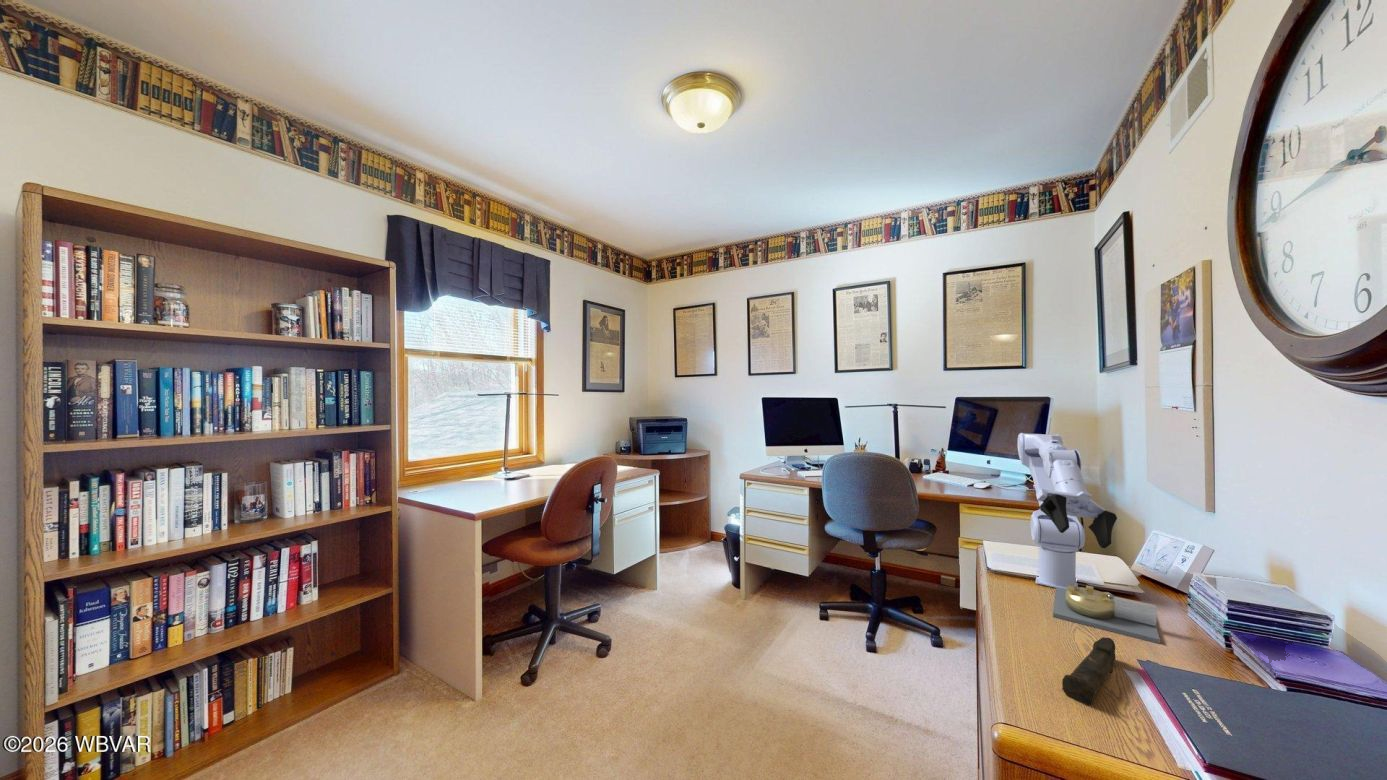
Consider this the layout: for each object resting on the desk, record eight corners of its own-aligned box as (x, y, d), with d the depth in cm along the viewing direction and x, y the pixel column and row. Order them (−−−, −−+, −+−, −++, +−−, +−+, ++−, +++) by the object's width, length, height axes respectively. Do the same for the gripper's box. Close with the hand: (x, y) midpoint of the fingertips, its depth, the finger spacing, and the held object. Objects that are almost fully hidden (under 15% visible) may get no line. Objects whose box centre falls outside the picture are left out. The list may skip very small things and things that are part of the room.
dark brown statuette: (1093, 711, 70) (1093, 681, 70) (1061, 695, 74) (1061, 667, 74) (1131, 668, 81) (1132, 642, 81) (1102, 656, 84) (1102, 631, 84)
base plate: (1055, 590, 110) (1055, 586, 110) (1149, 611, 100) (1149, 607, 100) (1053, 616, 98) (1053, 612, 98) (1159, 643, 87) (1159, 639, 87)
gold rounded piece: (1065, 610, 98) (1065, 591, 98) (1066, 596, 104) (1066, 579, 104) (1158, 633, 89) (1158, 612, 89) (1153, 616, 95) (1153, 597, 95)
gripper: (1045, 465, 102) (1058, 511, 92) (1119, 490, 99) (1140, 541, 89) (1027, 485, 106) (1037, 531, 96) (1096, 510, 103) (1114, 560, 93)
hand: (1085, 537), depth 93 cm, fingers open, 7 cm apart
